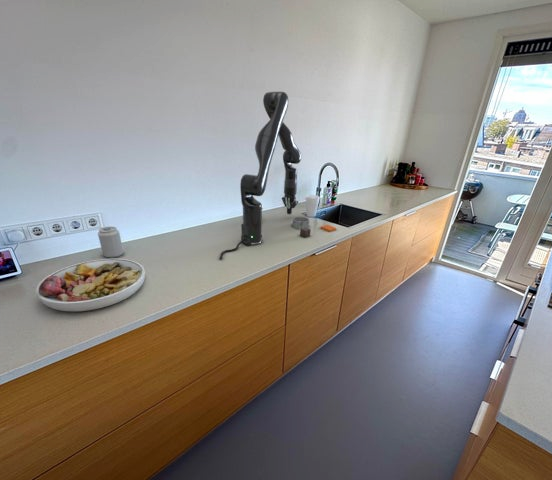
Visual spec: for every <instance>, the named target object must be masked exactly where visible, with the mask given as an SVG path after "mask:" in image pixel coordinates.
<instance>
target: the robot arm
mask: <svg viewBox="0 0 552 480" xmlns="http://www.w3.org/2000/svg"><path fill="white" fill-rule="evenodd" d="M262 98H263V99H262V103H263V104H262V105H263V108H264V110H265V112H266V114H267V116H268V119H269V120H268V121H267V122H266V123H265V125H264V126H263V127H262V128H261V129H260V131H259V132H258V134H257V137H256V140H255V144H254V152H255V155H256V158H257V162H258V165H259V166H258V172H257V175H256V174H248V173H245V174H243V175H242V176H241V179H240V184H239V185H240V186H239V187H240V201H241V202H240V203H241V205H242V223H241V225H240V227H241V229H240V231H241V236H240V241H239V242H238V243H237V244H236V246H235V247H234V248H231V249H225V250H223V251H221V253H220V256H219V260H222V259H223V255H224V254H225V253H228V252H234V251H236V250H237V249H238V248H239V246H240V245H241V244H242V243H243V244H245V245H247V246H256V245H260V244H261V243H262V241H263V239H262V238H263V234H262V232H263V231H262V229H263V227H262V225H263V222H262V221H263V205H262V203H261V202H260V201H259V200H257V199H256V198H255V197H262V196H263V195H264V194H265V191H266V188H267V183H268V179H269V172H270V167H271V163H272V160H273V156H274V153H275V150H276V146H277V142H278V139H279V142H280V145H281V147H282V149H283V150H284V151H283V154H282V160H283V161H282V162H283V167H284V184H283V194H284V196H282V197H281V200H282V203H283V205H284V207H286V214H287V215H291V214H292V212H293V211H292V210H293V209H295V208H296V206H297V205H298V204H299V201H298V200H297V197H296V196H297V193H298V192H297V191H298V190H297V189H298V169H297V168H296V167H294V166H293V164H294V165H298V164H300V162H301V161H302V152H301V151H300V149H299V147H298V146H297V144H296V143H295V140H294V137H293V133H292V132H291V129H290V128H289V126H287V125H286V123H285V122H284V119H285V117H286V114H287V111H288V109H289V95H288V94H287V93H286V92H285V91H267V92H265V94H264V95H263V97H262Z"/></svg>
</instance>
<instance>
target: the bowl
mask: <svg viewBox="0 0 552 480" xmlns="http://www.w3.org/2000/svg"><path fill="white" fill-rule="evenodd" d="M145 278H146V272H145V267H144V266H143V265H142V264H141V263H139V262H137V261H134V260H131V259H126V258H100V259H93V260H87V261H83V262H79V263H75V264H72V265H69V266H66V267H63V268H59V269H58V270H56V271H54V272H52V273H50V274H49V275H47V276H46V277H44V278H43V279H42V280H41V281H40V282H39V283H38V284H37V285H36V288H35V293H36V296H37V298H38V299H39V301H40V302H41V303H42V304H44V305H45V306H47V307H48V308H50V309H54V310H57V311H63V312H86V311H94V310H98V309H102V308H106V307H109V306H112V305H115V304H117V303H119V302H121V301H124V300H125V299H127V298H129V297H131V296H132V295H133V294H135V293H136V292H137V291H138V290H139V289H140V288H141V287H142V285H143V284H144V281H145Z"/></svg>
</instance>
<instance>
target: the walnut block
mask: <svg viewBox="0 0 552 480" xmlns="http://www.w3.org/2000/svg"><path fill="white" fill-rule="evenodd" d="M299 236H300V237H302V238H305V239H306V238H308V237H311V229H310V228H302V229H299Z"/></svg>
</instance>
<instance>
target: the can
mask: <svg viewBox="0 0 552 480" xmlns="http://www.w3.org/2000/svg"><path fill="white" fill-rule="evenodd" d="M97 236H98V240H99V244H100V248H101V253H102V255H103V256H104V257H106V258H107V259H115V258H118V257H121V256H122V254H124V248H123V244H122V239H121V238H122V237H121V235H120V231H119V230H118V229H117V227H116V226H103V227H100V228H99V229H98V232H97Z"/></svg>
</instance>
